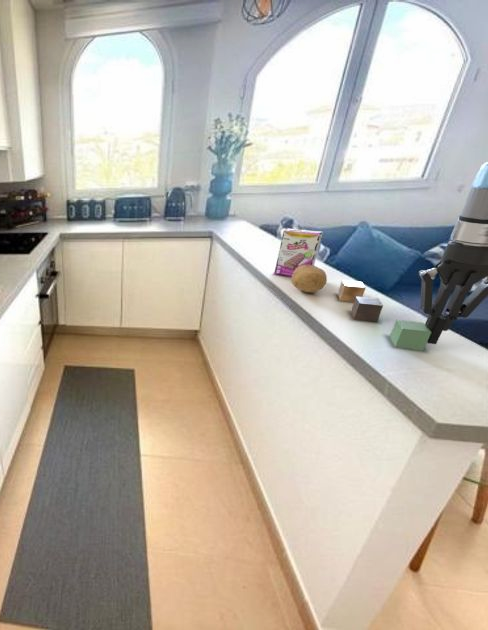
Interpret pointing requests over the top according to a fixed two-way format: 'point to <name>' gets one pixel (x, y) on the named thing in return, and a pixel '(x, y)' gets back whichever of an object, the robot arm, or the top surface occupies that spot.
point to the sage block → (410, 335)
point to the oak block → (350, 290)
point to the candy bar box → (297, 250)
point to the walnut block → (366, 309)
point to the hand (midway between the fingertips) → (429, 341)
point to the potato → (309, 278)
